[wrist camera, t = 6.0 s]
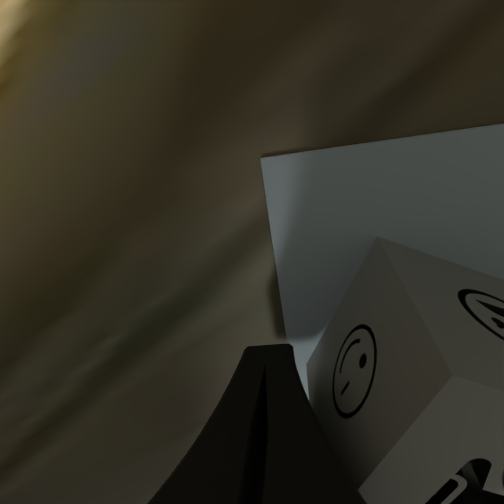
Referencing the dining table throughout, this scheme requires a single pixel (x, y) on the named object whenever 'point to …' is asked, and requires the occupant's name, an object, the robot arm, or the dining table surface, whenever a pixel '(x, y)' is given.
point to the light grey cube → (415, 380)
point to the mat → (379, 215)
